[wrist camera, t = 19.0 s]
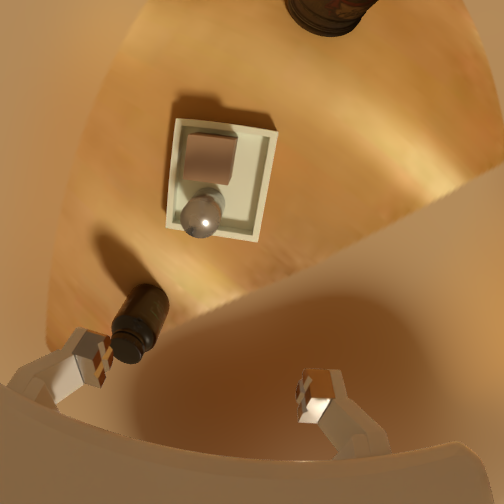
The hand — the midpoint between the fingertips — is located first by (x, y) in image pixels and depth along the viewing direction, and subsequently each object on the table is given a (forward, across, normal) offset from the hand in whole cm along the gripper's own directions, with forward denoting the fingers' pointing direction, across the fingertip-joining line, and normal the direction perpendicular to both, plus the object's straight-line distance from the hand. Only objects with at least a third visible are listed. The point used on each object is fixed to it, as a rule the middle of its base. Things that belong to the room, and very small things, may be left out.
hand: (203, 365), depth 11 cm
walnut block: (+28, +4, -4) cm, 29 cm away
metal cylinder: (+28, +4, +2) cm, 29 cm away
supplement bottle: (+29, +12, +20) cm, 37 cm away
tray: (+29, +3, -1) cm, 29 cm away
